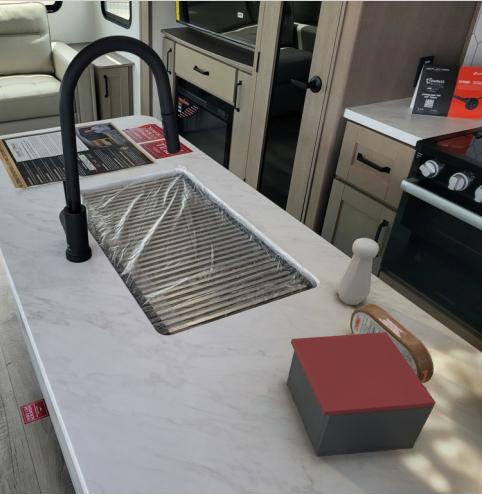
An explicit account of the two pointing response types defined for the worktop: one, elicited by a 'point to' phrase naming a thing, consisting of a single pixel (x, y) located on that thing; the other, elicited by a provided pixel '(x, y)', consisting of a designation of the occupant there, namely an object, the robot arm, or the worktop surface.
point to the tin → (394, 337)
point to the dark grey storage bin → (353, 422)
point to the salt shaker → (358, 272)
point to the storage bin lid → (359, 374)
